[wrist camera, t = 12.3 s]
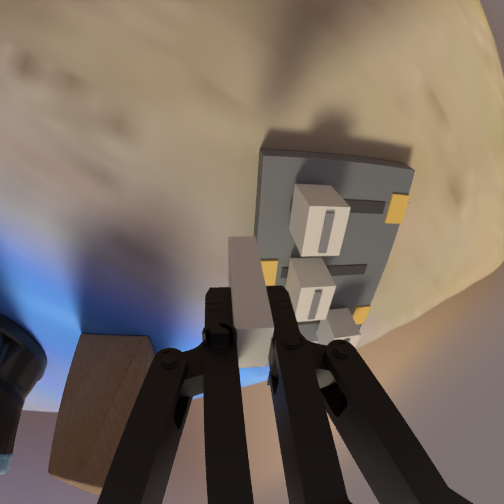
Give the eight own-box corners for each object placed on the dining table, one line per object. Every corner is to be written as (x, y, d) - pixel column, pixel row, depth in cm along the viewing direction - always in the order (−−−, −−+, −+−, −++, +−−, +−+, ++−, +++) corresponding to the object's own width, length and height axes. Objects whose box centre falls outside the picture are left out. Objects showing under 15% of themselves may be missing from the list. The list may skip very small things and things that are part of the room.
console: (247, 333, 35) (249, 347, 33) (259, 149, 22) (263, 156, 21) (354, 324, 37) (359, 336, 35) (406, 163, 24) (419, 171, 22)
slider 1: (289, 228, 24) (301, 258, 21) (294, 183, 22) (310, 207, 18) (322, 228, 24) (339, 257, 21) (330, 185, 22) (351, 208, 19)
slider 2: (284, 291, 28) (294, 323, 25) (290, 258, 26) (301, 289, 22) (313, 290, 28) (326, 320, 25) (321, 257, 26) (336, 287, 23)
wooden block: (103, 373, 38) (86, 492, 21) (80, 331, 32) (45, 473, 16) (164, 376, 39) (161, 504, 22) (149, 334, 33) (135, 494, 17)
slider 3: (316, 333, 33) (325, 362, 29) (323, 310, 30) (335, 339, 27) (339, 331, 33) (350, 358, 29) (348, 307, 31) (361, 336, 27)
